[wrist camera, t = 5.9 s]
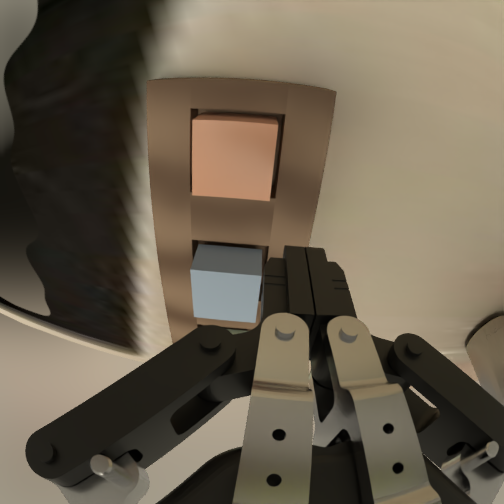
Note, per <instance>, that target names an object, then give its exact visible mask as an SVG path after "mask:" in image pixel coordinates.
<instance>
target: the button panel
mask: <svg viewBox="0 0 504 504" xmlns="http://www.w3.org/2000/svg"><path fill="white" fill-rule="evenodd" d="M335 99H336V92H335V91H332V90H329V89H325V88H319V87H313V86H307V85H300V84H293V83H285V82H276V81H266V80H254V79H238V78H164V79H156V80H149V81H147V136H148V158H149V174H150V188H151V200H152V210H153V220H154V229H155V238H156V246H157V254H158V261H159V268H160V275H161V281H162V287H163V294H164V299H165V305H166V311H167V316H168V322H169V327H170V332H171V337H172V342H173V344H174V343H175V342H177V341H178V340H180V339H181V338H183V337H184V336H185V335H187V334H188V333H190V332H191V331H193V330H194V329H196V328H198V327H200V326H204V325H218V326H221V327H223V328H226V329H233V330H245V331H250V330H252V329H254V328H255V327H256V326H257V325H258V324H259V323H260V315H261V294H262V285H263V276H264V267H265V264H266V263H267V261H268V260H269V259H270V257H274V258H283V251H284V246H285V245H289V246H301V247H308V245H309V241H310V236H311V232H312V227H313V222H314V218H315V213H316V208H317V203H318V198H319V193H320V188H321V182H322V177H323V172H324V166H325V161H326V155H327V149H328V144H329V138H330V132H331V125H332V119H333V113H334V106H335ZM202 112H217V113H237V114H251V115H263V116H274V117H276V118H277V122H278V132H277V141H276V150H275V159H274V167H273V176H272V185H271V193H270V201H261V200H250V199H238V198H225V197H211V196H195V195H192V120H193V119H194V118H196V117H197V116H198V115H200V114H201V113H202ZM198 244H204V245H216V246H228V247H240V248H251V249H262V277H261V284H260V292H259V300H258V307H257V315H256V322H255V323H251V322H239V321H228V320H218V319H208V318H199V317H194V311H193V299H192V286H191V273H190V269H191V266H192V263H193V260H194V256H195V253H196V250H197V247H198Z"/></svg>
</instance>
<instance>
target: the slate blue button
mask: <svg viewBox="0 0 504 504" xmlns="http://www.w3.org/2000/svg"><path fill="white" fill-rule="evenodd" d="M190 273H191V286H192V299H193V311H194V317H199V318H208V319H218V320H228V321H239V322H251V323H255V322H256V315H257V307H258V300H259V292H260V284H261V277H262V249H251V248H240V247H228V246H216V245H204V244H198V247H197V250H196V253H195V256H194V260H193V263H192V266H191V269H190Z"/></svg>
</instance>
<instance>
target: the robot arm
mask: <svg viewBox="0 0 504 504" xmlns="http://www.w3.org/2000/svg"><path fill="white" fill-rule="evenodd" d="M348 289H349V288H348V284H347V282H346V278H345V274H344V271H343V270H342V269H341V268H340V266H339V265H338V264H337V263H336V262H327V258H326V254H325V250H324V249H323V248H313V247H301V246H289V245H285V246H284V251H283V258H274V257H270V259H269V260H268V261H267V263H266V264H265V267H264V276H263V285H262V294H261V315H260V323H259V324H258V325H257V326H256V327H255V328H254V329H252V330H250V331H247V332H243V333H238V334H232V333H231V332H230V331H229V330H227V329H226V328H223V327H221V326H218V325H204V326H200V327H198V328H196V329H194V330H193V331H191V332H190V333H188V334H187V335H185V336H184V337H183V338H181V339H180V340H178V341H177V342H175V343H174V344H172V345H171V346H169V347H168V348H166V349H165V350H163V351H162V352H160V353H159V354H157V355H156V356H154V357H153V358H151V359H150V360H148V361H147V362H145V363H144V364H142V365H141V366H139V367H138V368H136V369H135V370H133V371H132V372H130V373H129V374H127V375H126V376H124V377H122V378H121V379H119V380H118V381H116V382H115V383H113V384H112V385H110V386H109V387H107V388H105V389H104V390H102V391H101V392H99V393H98V394H96V395H95V396H93V397H91V398H90V399H88V400H86V401H85V402H83V403H82V404H80V405H78V406H77V407H75V408H74V409H72V410H70V411H69V412H67V413H66V414H64V415H62V416H61V417H59V418H57V419H56V420H54V421H52V422H51V423H49V424H47V425H46V426H44V427H43V428H41V429H39V430H38V431H36V432H34V433H33V434H32V435H31V436H30V438H29V439H28V441H27V444H26V450H25V452H26V458H27V462H28V464H29V466H30V467H31V469H32V470H33V471H34V472H35V473H36V474H38V475H39V476H41V477H43V478H45V479H47V480H49V481H51V482H53V483H54V484H56V485H57V486H58V487H59V489H60V490H61V492H62V493H63V494H64V496H65V498H66V499H67V500H68V502H69V504H137V503H138V501H139V500H140V499H141V498H142V497H143V496H144V495H145V494H146V493H147V491H148V489H149V477H148V474H147V472H146V470H145V469H146V468H147V467H149V466H150V465H151V464H153V463H154V462H156V461H157V460H158V459H160V458H161V457H162V456H164V455H165V454H166V453H168V452H169V451H170V450H172V449H173V448H174V447H176V446H177V445H178V444H180V443H181V442H182V441H183V440H185V439H186V438H187V437H188V436H190V435H191V434H192V433H194V432H195V431H196V430H197V429H199V428H200V427H201V426H202V425H204V424H205V423H206V422H207V421H208V420H209V419H211V418H212V417H213V416H214V415H216V414H217V413H218V412H219V411H220V410H221V409H223V408H224V407H225V406H226V405H227V404H228V403H230V401H231V400H232V399H235V398H240V397H244V396H249V395H251V397H250V404H249V410H248V416H247V422H246V429H245V435H244V440H243V446H242V447H238V448H234V449H231V450H228V451H225V452H223V453H221V454H219V455H217V456H215V457H213V458H212V459H210V460H209V461H207V462H206V463H205V464H204V465H202V466H201V467H200V468H199V469H198V470H197V471H196V472H194V473H193V474H192V475H191V476H190V477H188V478H187V479H186V480H185V481H184V482H183V483H181V484H180V485H179V486H178V487H176V488H175V489H174V490H173V491H171V492H170V493H169V494H168V495H166V496H165V497H164V498H163V499H161V500H160V501H159V502H157V503H156V504H492V502H493V500H494V499H495V497H496V495H497V493H498V491H499V489H500V487H501V485H502V483H503V481H504V316H499V317H497V318H495V319H493V320H491V321H490V322H488V323H487V324H485V325H484V326H483V327H481V328H480V329H479V330H478V331H477V332H476V333H475V334H474V335H473V337H472V338H471V339H470V341H469V342H468V344H467V347H466V351H467V353H468V355H469V358H470V360H471V362H472V365H473V367H474V370H475V372H476V375H477V377H478V380H479V382H480V385H481V386H480V385H479V384H477V383H476V382H475V381H474V380H473V379H471V378H470V377H469V376H468V375H467V374H466V373H464V372H463V371H462V370H461V369H459V368H458V367H457V366H456V365H455V364H453V363H452V362H451V361H450V360H449V359H447V358H446V357H445V356H444V355H442V354H441V353H440V352H439V351H437V350H436V349H435V348H434V347H432V346H431V345H430V344H429V343H427V342H426V341H425V340H424V339H422V338H421V337H419V336H417V335H415V334H410V333H405V334H402V335H400V336H398V337H397V338H396V340H395V341H394V342H392V341H389V340H385V339H381V338H378V337H375V336H373V335H371V334H370V332H369V329H368V328H367V326H366V325H365V324H364V323H363V322H362V321H360V320H359V319H357V316H356V312H355V309H354V305H353V302H352V298H351V295H350V291H349V290H348ZM309 360H311V371H310V373H309ZM410 386H413V387H414V388H415V389H416V390H417V391H418V392H420V393H421V394H422V395H423V396H424V397H425V398H426V399H428V400H429V401H430V402H431V403H432V404H433V405H435V406H436V407H437V408H433V407H431V406H429V405H428V404H427V403H426V402H424V401H423V400H422V399H421V398H420V397H419V396H417V395H416V394H415V393H414V392H413V391H412V390H411V389H409V387H410ZM309 388H310V389H309ZM313 414H314V421H315V433H314V438H313V445H312V437H313ZM426 456H427V457H428V458H429V459H430V460H431V461H432V462H434V463H435V464H436V465H437V466H438V467H440V468H441V470H440V469H439V468H438V467H437V466H435V465H434V464H433V463H432V462H431V461H430V460H429V459H428V458H427V457H426Z"/></svg>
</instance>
